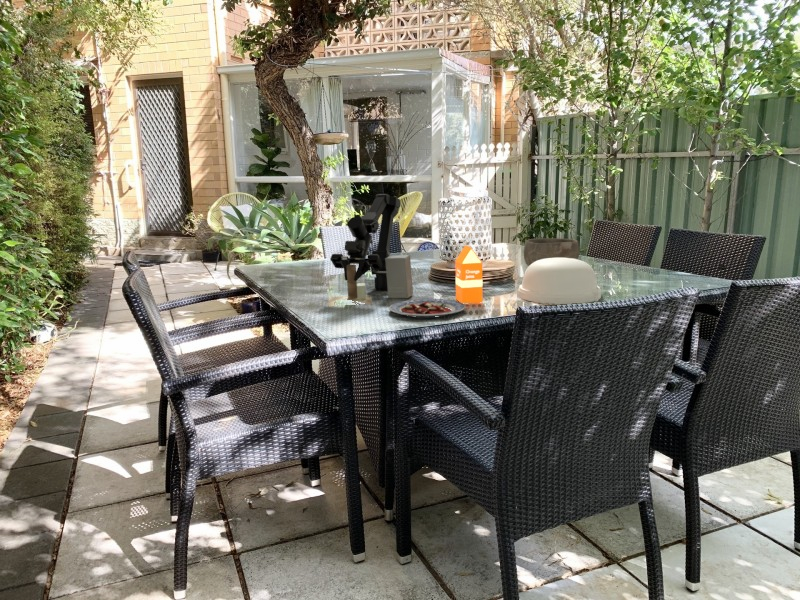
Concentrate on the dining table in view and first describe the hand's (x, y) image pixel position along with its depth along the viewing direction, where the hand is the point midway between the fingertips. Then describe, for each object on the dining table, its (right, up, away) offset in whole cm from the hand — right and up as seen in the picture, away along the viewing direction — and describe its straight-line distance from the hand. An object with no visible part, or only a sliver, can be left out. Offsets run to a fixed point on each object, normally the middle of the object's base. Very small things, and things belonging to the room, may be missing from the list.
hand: (350, 280), depth 224 cm
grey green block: (+2, -6, +14) cm, 15 cm away
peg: (+1, -6, +3) cm, 7 cm away
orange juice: (+43, -8, +2) cm, 44 cm away
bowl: (+86, +5, +58) cm, 104 cm away
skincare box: (+18, -6, +14) cm, 24 cm away
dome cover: (+77, -6, +8) cm, 78 cm away
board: (-1, -8, +9) cm, 12 cm away
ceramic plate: (+27, -12, -12) cm, 32 cm away
